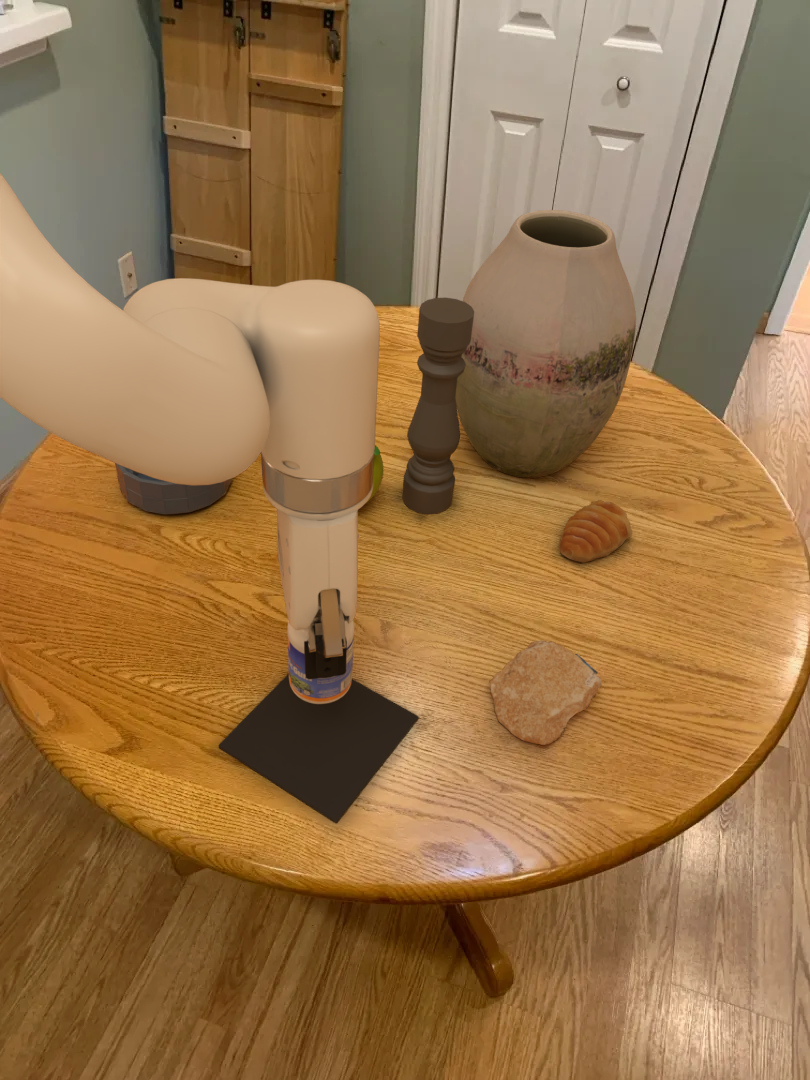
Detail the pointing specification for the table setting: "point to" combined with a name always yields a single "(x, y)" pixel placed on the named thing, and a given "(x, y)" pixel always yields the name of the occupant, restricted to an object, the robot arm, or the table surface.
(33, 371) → the robot arm
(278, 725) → the mat
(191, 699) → the table surface
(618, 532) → the pastry
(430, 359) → the candle holder
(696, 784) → the table surface
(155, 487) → the bowl
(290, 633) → the pill bottle
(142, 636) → the table surface
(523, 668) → the stone
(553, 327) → the vase
